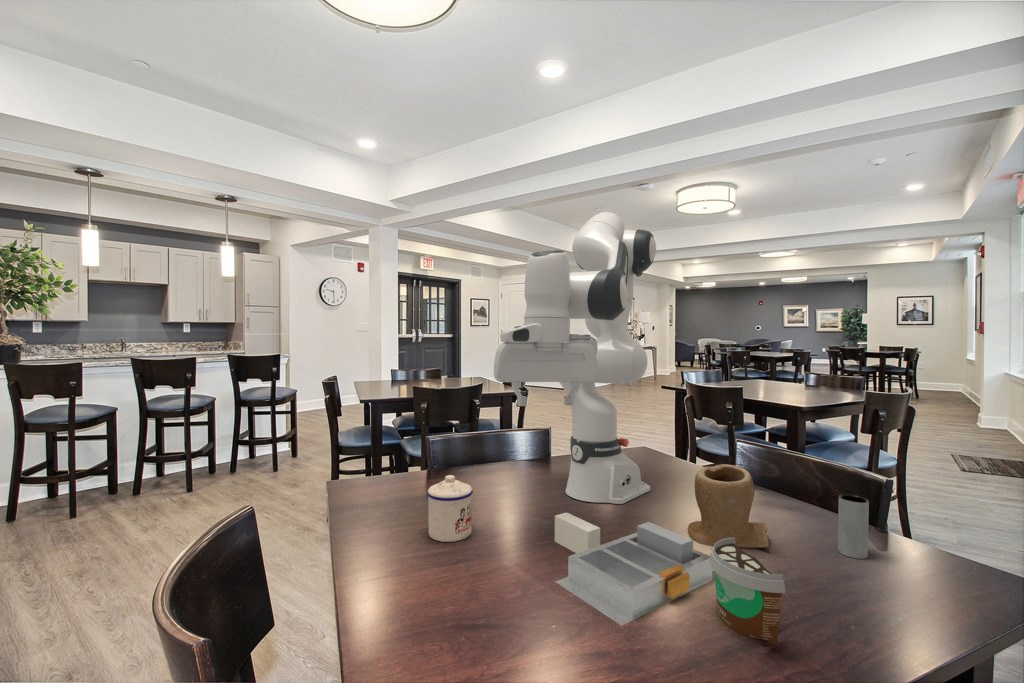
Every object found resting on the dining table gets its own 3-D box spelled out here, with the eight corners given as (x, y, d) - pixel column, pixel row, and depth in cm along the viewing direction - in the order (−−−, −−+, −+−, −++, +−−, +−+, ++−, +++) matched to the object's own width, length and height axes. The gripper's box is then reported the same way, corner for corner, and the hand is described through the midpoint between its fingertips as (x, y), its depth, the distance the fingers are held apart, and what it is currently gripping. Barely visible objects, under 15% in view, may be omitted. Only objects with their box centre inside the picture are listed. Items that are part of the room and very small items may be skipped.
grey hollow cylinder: (862, 550, 91) (863, 495, 91) (871, 560, 86) (872, 503, 86) (834, 546, 92) (835, 492, 92) (842, 556, 88) (843, 500, 88)
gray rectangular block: (648, 555, 86) (648, 521, 86) (692, 576, 79) (693, 539, 79) (637, 559, 85) (637, 525, 84) (681, 581, 77) (681, 544, 77)
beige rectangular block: (566, 543, 94) (566, 512, 94) (600, 561, 86) (600, 527, 86) (554, 547, 92) (554, 515, 92) (587, 565, 85) (587, 531, 85)
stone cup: (695, 555, 89) (696, 474, 88) (683, 529, 100) (684, 457, 100) (784, 562, 86) (786, 478, 86) (762, 534, 98) (763, 460, 97)
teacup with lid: (463, 545, 92) (462, 485, 92) (419, 540, 95) (419, 481, 94) (483, 521, 104) (483, 467, 104) (444, 517, 106) (444, 464, 106)
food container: (693, 602, 73) (693, 537, 73) (732, 601, 74) (733, 535, 73) (738, 657, 61) (739, 578, 61) (784, 655, 61) (785, 577, 61)
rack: (653, 549, 91) (653, 523, 91) (726, 582, 79) (726, 553, 79) (555, 587, 77) (555, 557, 77) (624, 635, 65) (625, 599, 65)
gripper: (591, 334, 98) (590, 402, 98) (492, 333, 94) (491, 404, 94) (603, 334, 92) (602, 406, 92) (498, 332, 88) (497, 408, 88)
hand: (545, 405), depth 93 cm, fingers open, 8 cm apart
